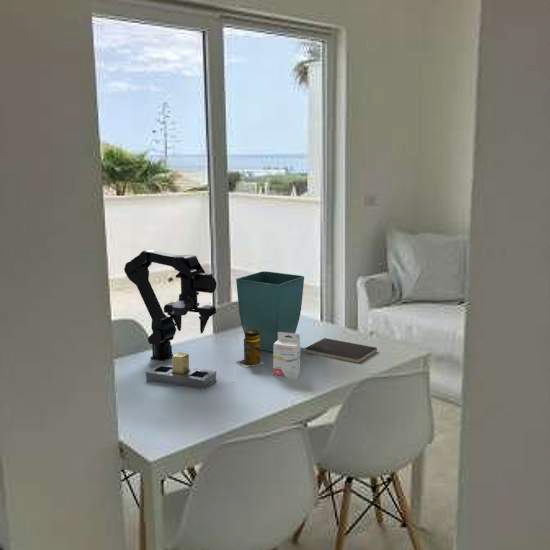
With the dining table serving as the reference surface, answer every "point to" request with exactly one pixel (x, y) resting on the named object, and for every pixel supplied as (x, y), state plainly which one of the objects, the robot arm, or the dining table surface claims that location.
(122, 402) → the dining table surface
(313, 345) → the hardcover book
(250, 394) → the dining table surface
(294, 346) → the ink cartridge box
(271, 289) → the flower pot
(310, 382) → the dining table surface
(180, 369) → the brass peg
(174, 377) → the gray socket block
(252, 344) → the condiment
